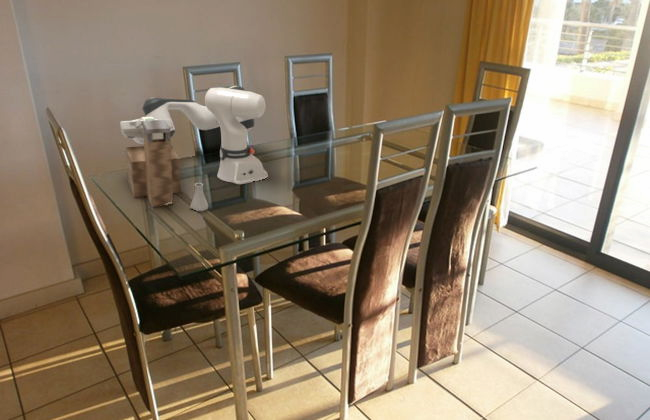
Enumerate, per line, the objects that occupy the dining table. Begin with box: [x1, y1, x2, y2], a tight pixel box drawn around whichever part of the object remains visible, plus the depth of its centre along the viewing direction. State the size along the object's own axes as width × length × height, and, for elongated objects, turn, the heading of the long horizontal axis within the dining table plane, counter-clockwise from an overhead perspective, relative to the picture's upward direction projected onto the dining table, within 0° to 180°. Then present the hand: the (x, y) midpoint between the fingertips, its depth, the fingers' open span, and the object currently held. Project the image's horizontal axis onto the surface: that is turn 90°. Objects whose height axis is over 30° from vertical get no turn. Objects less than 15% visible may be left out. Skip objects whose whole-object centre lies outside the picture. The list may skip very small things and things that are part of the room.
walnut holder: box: [125, 120, 181, 208], centre depth 202 cm, size 18×26×31 cm
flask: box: [189, 182, 209, 212], centre depth 198 cm, size 7×7×10 cm
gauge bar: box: [141, 116, 164, 140], centre depth 196 cm, size 4×22×3 cm, turn 27°
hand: (149, 121), depth 202 cm, fingers closed on gauge bar, 4 cm apart
